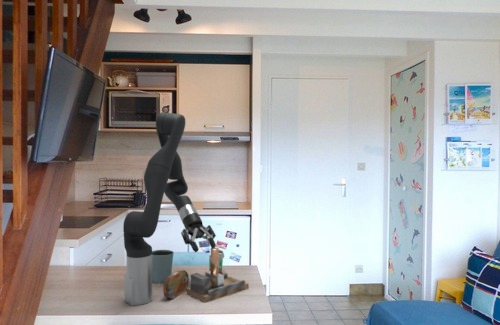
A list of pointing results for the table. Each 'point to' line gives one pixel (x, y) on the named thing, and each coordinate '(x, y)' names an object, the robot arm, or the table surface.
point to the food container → (221, 256)
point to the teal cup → (161, 265)
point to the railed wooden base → (205, 294)
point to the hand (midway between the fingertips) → (205, 249)
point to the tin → (175, 284)
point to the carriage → (215, 270)
